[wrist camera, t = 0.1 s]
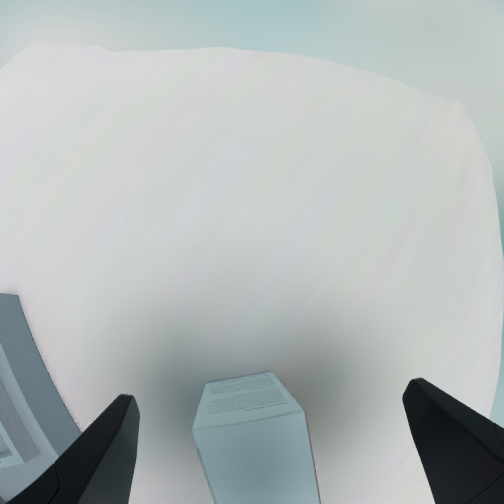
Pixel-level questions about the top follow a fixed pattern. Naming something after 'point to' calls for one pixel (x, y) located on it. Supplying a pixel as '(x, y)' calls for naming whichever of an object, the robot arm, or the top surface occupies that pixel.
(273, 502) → the small box
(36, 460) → the bin
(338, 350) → the top surface
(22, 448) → the socket
